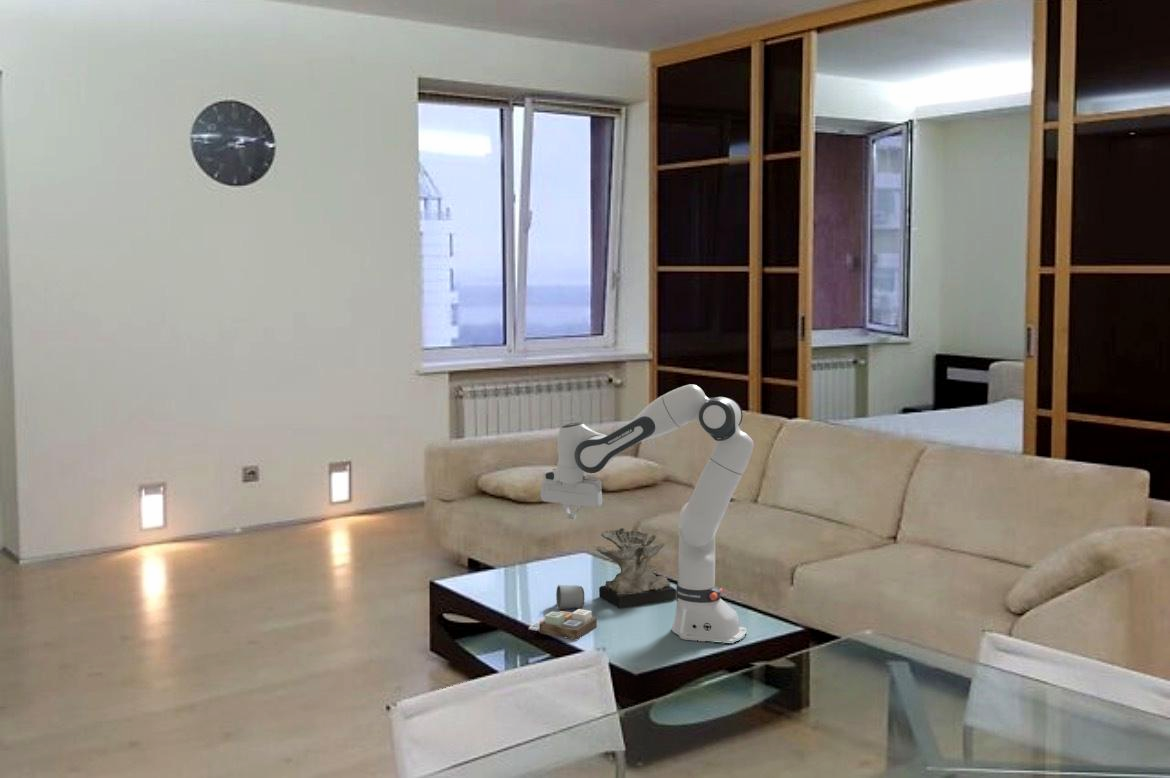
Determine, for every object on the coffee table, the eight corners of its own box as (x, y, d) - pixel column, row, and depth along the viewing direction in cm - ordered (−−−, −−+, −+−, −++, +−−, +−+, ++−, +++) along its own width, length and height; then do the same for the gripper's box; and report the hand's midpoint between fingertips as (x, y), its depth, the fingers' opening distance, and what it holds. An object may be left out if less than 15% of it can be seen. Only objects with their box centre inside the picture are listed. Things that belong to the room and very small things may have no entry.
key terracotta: (574, 624, 355) (574, 612, 355) (567, 628, 351) (567, 616, 351) (561, 621, 357) (561, 610, 357) (554, 626, 353) (554, 614, 353)
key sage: (564, 624, 350) (564, 613, 349) (557, 629, 346) (557, 617, 345) (551, 622, 352) (552, 610, 351) (544, 626, 348) (544, 614, 347)
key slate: (582, 633, 347) (582, 621, 347) (575, 637, 343) (575, 625, 343) (569, 630, 349) (569, 618, 349) (562, 635, 345) (562, 623, 345)
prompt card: (552, 621, 358) (552, 618, 358) (536, 630, 349) (536, 628, 349) (544, 619, 360) (544, 617, 359) (528, 629, 351) (528, 626, 351)
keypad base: (596, 627, 353) (596, 617, 353) (577, 640, 342) (577, 630, 341) (559, 620, 359) (559, 611, 358) (539, 633, 347) (539, 623, 347)
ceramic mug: (585, 610, 369) (585, 587, 368) (560, 612, 367) (560, 588, 366) (577, 601, 379) (578, 578, 378) (553, 602, 377) (553, 579, 376)
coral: (609, 610, 369) (609, 545, 367) (581, 593, 387) (582, 530, 385) (677, 600, 380) (678, 536, 377) (647, 583, 398) (648, 522, 395)
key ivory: (591, 622, 352) (591, 610, 352) (584, 626, 348) (584, 614, 348) (578, 619, 354) (578, 608, 354) (571, 624, 350) (571, 612, 350)
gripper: (606, 476, 357) (605, 520, 358) (548, 469, 366) (547, 512, 368) (596, 479, 351) (596, 524, 353) (538, 473, 360) (538, 516, 362)
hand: (571, 518), depth 360 cm, fingers closed
